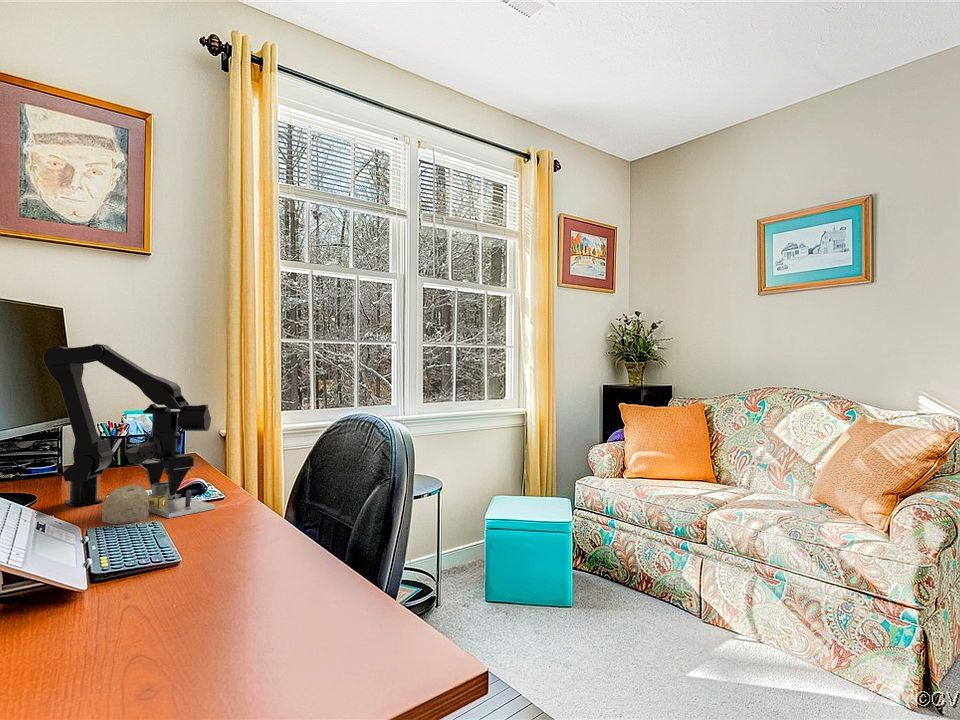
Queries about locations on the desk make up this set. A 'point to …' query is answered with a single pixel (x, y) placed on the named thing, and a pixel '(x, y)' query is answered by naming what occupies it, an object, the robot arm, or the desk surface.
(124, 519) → the brown rounded stone
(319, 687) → the desk surface
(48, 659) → the desk surface
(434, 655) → the desk surface
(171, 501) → the carrier plate
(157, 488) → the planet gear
